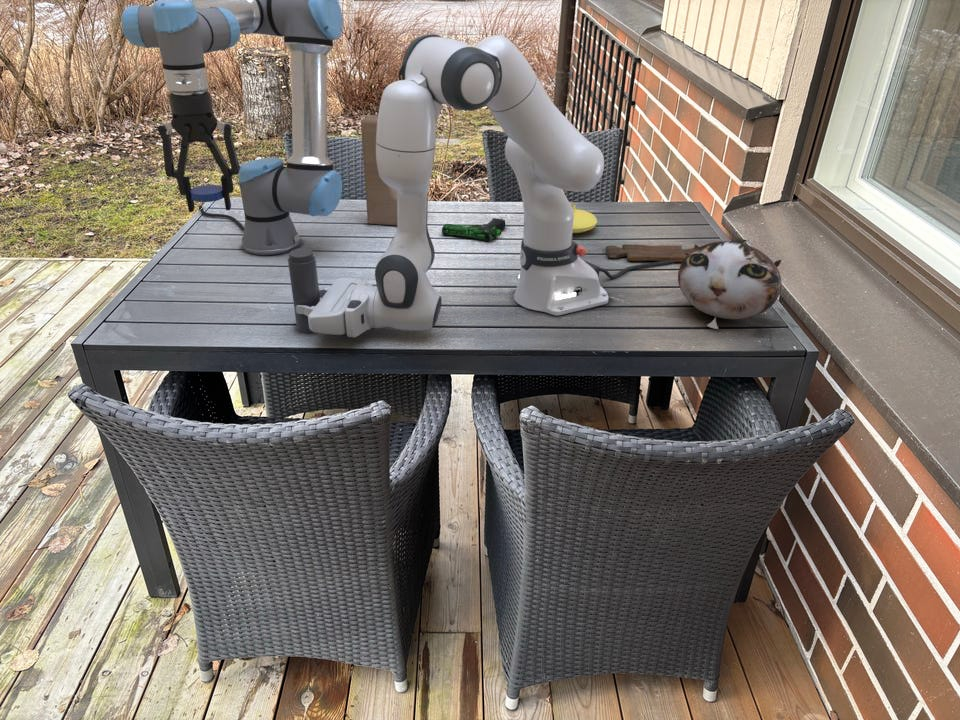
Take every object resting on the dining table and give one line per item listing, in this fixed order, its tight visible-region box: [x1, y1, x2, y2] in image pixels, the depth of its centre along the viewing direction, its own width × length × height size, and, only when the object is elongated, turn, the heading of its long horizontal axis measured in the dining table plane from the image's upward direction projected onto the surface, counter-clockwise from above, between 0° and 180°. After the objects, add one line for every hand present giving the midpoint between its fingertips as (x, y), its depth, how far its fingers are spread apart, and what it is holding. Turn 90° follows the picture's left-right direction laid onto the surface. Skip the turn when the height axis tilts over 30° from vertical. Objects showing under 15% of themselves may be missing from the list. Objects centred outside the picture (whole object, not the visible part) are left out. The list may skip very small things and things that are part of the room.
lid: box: [190, 184, 224, 203], centre depth 146 cm, size 7×7×2 cm
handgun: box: [441, 217, 506, 242], centre depth 207 cm, size 16×3×15 cm
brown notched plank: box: [605, 243, 694, 263], centre depth 194 cm, size 26×2×10 cm
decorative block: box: [360, 114, 397, 226], centre depth 206 cm, size 8×15×30 cm, turn 82°
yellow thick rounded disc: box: [570, 203, 598, 234], centre depth 209 cm, size 16×16×7 cm
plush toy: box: [677, 240, 783, 330], centre depth 159 cm, size 22×18×20 cm
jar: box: [287, 247, 321, 334], centre depth 152 cm, size 6×6×17 cm
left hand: (210, 208), depth 147 cm, fingers closed on lid, 6 cm apart
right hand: (302, 301), depth 154 cm, fingers closed on jar, 5 cm apart
